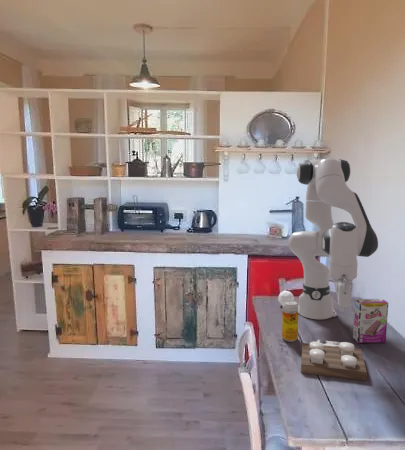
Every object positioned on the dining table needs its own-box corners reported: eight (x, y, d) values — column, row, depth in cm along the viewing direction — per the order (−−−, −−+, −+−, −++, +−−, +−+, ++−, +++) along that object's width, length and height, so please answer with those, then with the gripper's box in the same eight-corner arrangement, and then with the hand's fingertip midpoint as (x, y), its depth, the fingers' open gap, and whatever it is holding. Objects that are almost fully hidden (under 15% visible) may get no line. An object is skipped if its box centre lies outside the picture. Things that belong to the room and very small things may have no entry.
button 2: (338, 352, 133) (339, 341, 132) (353, 353, 131) (353, 342, 131) (339, 358, 128) (340, 347, 127) (354, 360, 127) (355, 349, 126)
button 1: (309, 351, 136) (309, 340, 135) (323, 352, 134) (323, 342, 134) (309, 357, 131) (309, 346, 130) (323, 359, 130) (324, 348, 129)
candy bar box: (358, 344, 142) (359, 303, 140) (352, 338, 147) (354, 298, 145) (386, 343, 143) (389, 302, 141) (380, 337, 148) (382, 297, 146)
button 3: (309, 359, 128) (309, 348, 127) (324, 360, 126) (324, 349, 126) (309, 366, 123) (309, 354, 123) (324, 368, 122) (324, 356, 121)
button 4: (340, 365, 125) (340, 354, 125) (355, 367, 124) (355, 356, 123) (341, 372, 121) (341, 361, 120) (357, 374, 119) (357, 363, 119)
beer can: (286, 343, 144) (287, 306, 142) (279, 336, 150) (279, 301, 148) (300, 341, 146) (301, 304, 144) (292, 334, 152) (293, 299, 150)
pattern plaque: (317, 341, 145) (317, 339, 145) (341, 343, 143) (341, 341, 143) (317, 349, 139) (317, 347, 139) (343, 352, 136) (343, 350, 136)
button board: (302, 350, 138) (302, 343, 137) (360, 357, 132) (360, 349, 132) (300, 372, 123) (301, 364, 122) (366, 381, 117) (366, 372, 117)
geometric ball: (290, 311, 184) (297, 302, 179) (275, 306, 184) (282, 297, 179) (289, 300, 190) (297, 290, 185) (275, 295, 190) (282, 285, 185)
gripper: (356, 281, 114) (354, 323, 117) (350, 263, 134) (348, 299, 136) (334, 280, 116) (333, 321, 119) (331, 262, 135) (330, 298, 138)
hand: (341, 309), depth 127 cm, fingers closed
